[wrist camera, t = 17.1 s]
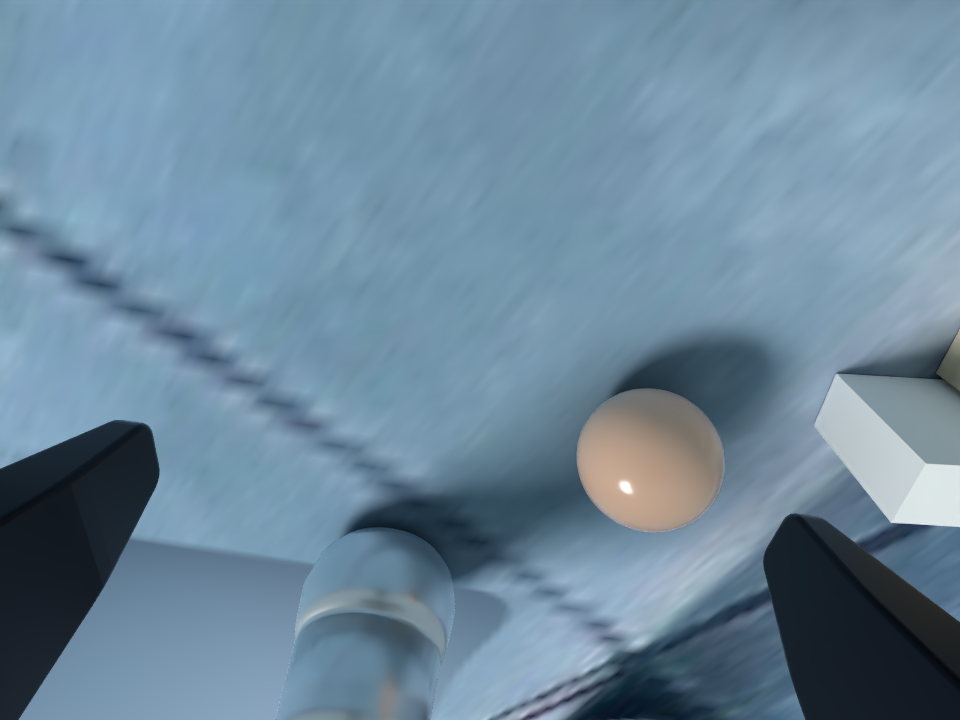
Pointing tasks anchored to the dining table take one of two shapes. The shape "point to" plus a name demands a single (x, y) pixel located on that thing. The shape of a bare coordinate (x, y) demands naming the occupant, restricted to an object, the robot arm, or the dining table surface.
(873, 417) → the stop block
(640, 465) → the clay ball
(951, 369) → the beech collar
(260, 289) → the dining table surface
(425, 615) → the plastic bottle
